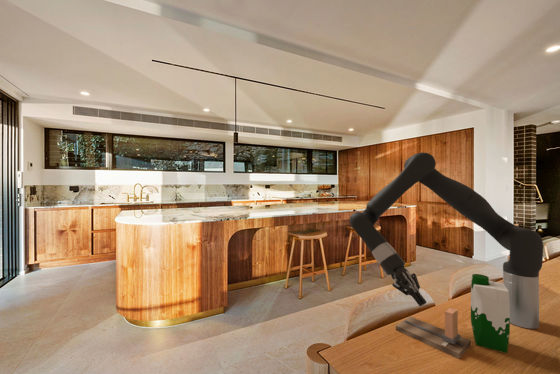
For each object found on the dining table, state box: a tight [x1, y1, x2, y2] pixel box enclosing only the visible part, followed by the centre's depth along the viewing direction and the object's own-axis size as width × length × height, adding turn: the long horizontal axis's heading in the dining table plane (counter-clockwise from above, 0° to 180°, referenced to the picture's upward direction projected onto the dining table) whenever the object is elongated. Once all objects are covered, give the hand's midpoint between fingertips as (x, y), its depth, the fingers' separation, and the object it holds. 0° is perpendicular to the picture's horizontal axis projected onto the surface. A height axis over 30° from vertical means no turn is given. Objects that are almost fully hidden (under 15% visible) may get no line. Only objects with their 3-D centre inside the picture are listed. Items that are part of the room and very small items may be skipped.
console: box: [395, 316, 472, 359], centre depth 81 cm, size 18×10×2 cm, turn 37°
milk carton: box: [470, 273, 511, 354], centre depth 78 cm, size 9×9×20 cm
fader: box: [442, 307, 461, 344], centre depth 76 cm, size 3×5×8 cm, turn 127°
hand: (423, 304), depth 82 cm, fingers closed
